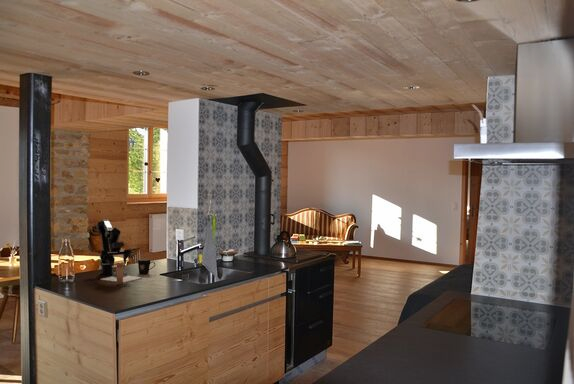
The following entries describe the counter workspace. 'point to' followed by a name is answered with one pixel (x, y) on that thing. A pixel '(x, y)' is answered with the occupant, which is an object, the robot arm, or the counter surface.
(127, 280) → the board
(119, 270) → the marker
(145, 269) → the coffee mug
